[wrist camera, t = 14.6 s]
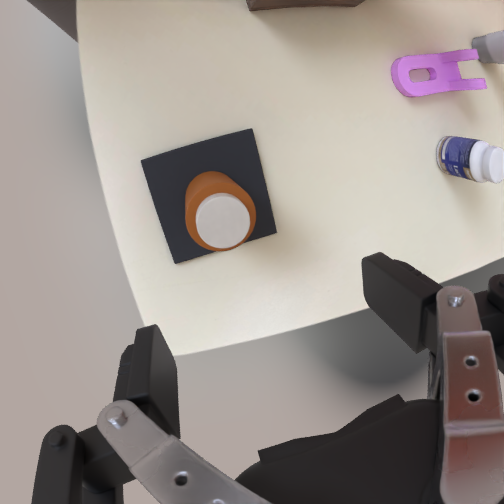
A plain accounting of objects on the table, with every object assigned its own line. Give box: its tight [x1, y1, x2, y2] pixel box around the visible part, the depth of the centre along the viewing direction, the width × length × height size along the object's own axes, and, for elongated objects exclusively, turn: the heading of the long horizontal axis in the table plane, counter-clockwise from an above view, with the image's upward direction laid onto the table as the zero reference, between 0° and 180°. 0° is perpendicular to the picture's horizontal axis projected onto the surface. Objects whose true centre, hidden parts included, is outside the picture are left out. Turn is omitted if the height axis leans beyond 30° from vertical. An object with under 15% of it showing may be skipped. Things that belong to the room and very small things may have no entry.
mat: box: [141, 129, 277, 264], centre depth 33 cm, size 12×12×1 cm
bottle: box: [185, 171, 256, 251], centre depth 28 cm, size 6×6×11 cm
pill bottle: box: [437, 136, 504, 183], centre depth 33 cm, size 6×6×10 cm
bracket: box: [391, 49, 487, 97], centre depth 29 cm, size 13×6×7 cm, turn 110°
